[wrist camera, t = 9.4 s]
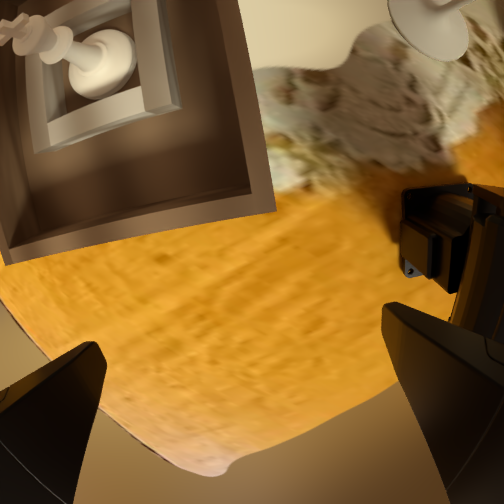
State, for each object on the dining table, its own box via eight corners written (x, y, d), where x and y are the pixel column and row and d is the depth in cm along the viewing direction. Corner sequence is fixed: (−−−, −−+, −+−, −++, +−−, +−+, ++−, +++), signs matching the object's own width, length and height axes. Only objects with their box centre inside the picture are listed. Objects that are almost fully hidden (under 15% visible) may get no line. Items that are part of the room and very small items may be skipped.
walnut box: (217, -76, 12) (209, -114, 7) (271, 194, 19) (276, 211, 14) (17, 6, 13) (-17, -6, 8) (43, 242, 20) (5, 265, 16)
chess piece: (66, 55, 15) (-37, 26, 5) (126, 18, 14) (41, -47, 5) (83, 113, 16) (-31, 108, 7) (147, 76, 16) (53, 29, 6)
